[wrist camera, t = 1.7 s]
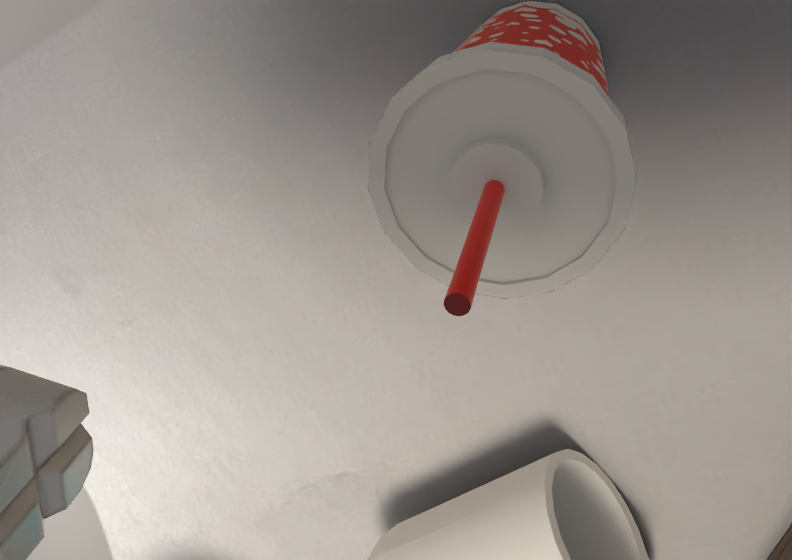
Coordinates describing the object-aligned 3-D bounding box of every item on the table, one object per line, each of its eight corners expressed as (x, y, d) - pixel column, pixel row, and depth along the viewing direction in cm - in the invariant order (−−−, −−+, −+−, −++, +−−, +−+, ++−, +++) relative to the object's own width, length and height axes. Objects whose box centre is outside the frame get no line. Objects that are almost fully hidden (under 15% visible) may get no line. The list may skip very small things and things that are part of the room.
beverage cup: (581, -66, 22) (546, 64, 10) (659, 115, 24) (700, 391, 12) (407, 32, 25) (224, 222, 13) (490, 187, 27) (396, 467, 15)
